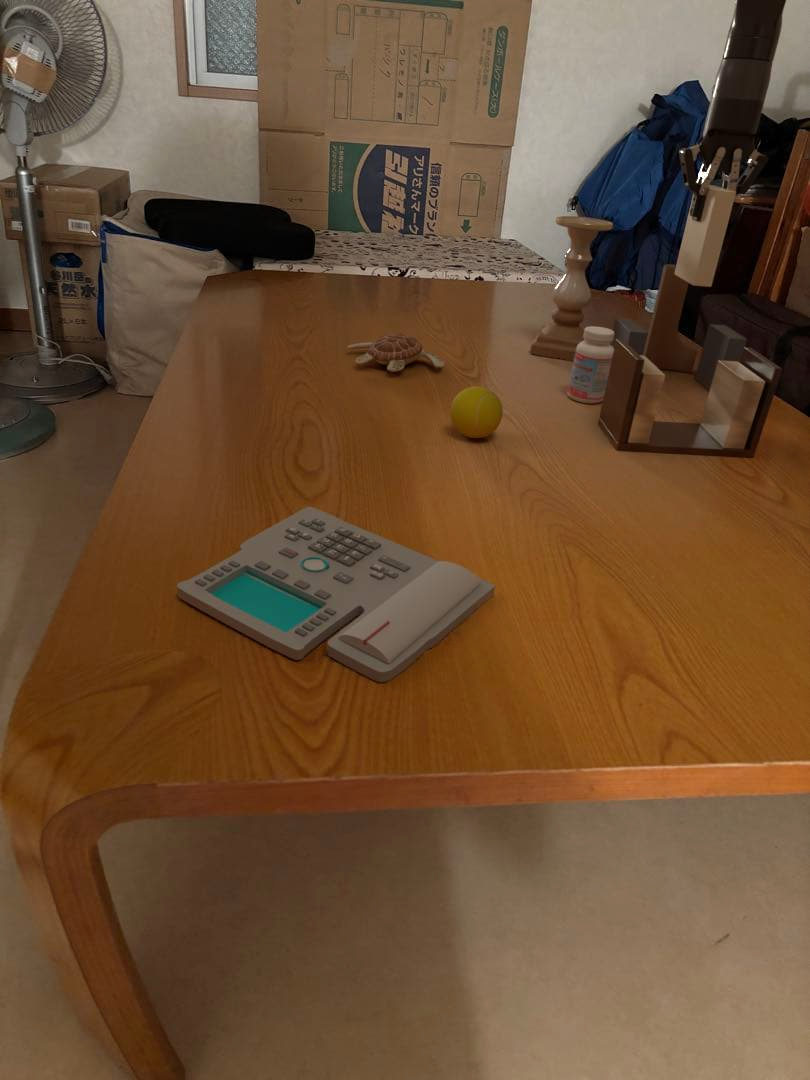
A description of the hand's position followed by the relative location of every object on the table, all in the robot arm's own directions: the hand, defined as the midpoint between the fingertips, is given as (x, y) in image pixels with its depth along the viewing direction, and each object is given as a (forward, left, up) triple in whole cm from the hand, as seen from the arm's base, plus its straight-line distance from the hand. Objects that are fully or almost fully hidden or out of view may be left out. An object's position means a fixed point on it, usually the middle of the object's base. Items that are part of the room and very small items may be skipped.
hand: (707, 220), depth 123 cm
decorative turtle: (+48, -4, -27) cm, 55 cm away
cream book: (0, 0, -9) cm, 9 cm away
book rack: (+8, +26, -27) cm, 38 cm away
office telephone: (+56, +69, -27) cm, 93 cm away
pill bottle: (+17, +9, -27) cm, 33 cm away
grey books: (0, -1, -27) cm, 27 cm away
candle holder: (+15, -18, -27) cm, 36 cm away
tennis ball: (+38, +28, -27) cm, 54 cm away
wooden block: (-4, -12, -27) cm, 30 cm away
